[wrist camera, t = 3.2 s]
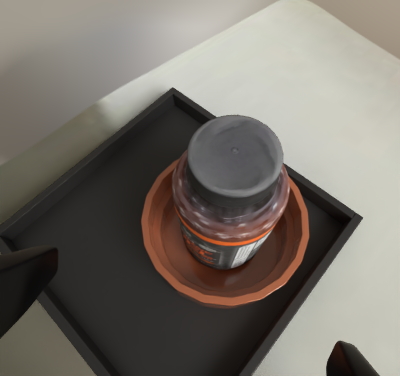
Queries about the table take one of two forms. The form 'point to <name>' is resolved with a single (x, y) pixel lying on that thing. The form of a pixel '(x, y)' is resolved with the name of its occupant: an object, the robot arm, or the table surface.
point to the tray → (142, 265)
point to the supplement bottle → (229, 190)
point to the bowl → (222, 279)
